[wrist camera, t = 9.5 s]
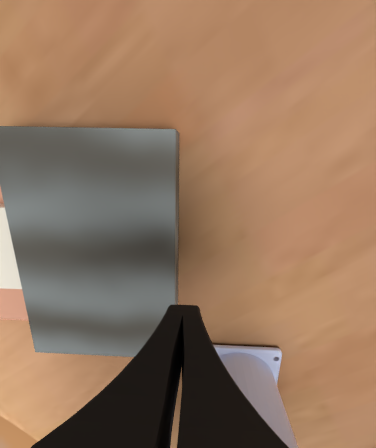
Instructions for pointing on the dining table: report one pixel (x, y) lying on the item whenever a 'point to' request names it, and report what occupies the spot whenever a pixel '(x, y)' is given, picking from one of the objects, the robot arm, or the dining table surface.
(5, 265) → the coaster
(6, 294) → the mat
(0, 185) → the plate
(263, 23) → the dining table surface
